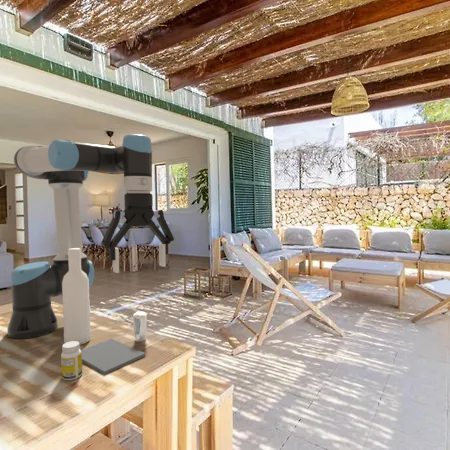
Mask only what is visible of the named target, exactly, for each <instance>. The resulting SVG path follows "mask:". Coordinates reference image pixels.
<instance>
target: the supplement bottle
mask: <svg viewBox="0 0 450 450" xmlns="http://www.w3.org/2000/svg"><path fill="white" fill-rule="evenodd" d="M80 346H81V345H79V342H77V341H71V342H67V343H63V344H62V347H61V350H62V352H61V354H60V360H61V363H60V364H61V378H62V379H63V380H64V381H73V380H76V379H78V378H80V377H81V376H82V375H83V362H82V353H81V350H82V349H81V348H80Z"/></svg>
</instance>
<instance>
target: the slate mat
mask: <svg viewBox="0 0 450 450" xmlns="http://www.w3.org/2000/svg"><path fill="white" fill-rule="evenodd" d="M80 350H81V353H82V363H84V364H86V365H87V366H89V367H91V368H92V369H95V370H96V371H98V372H99V373H101V374H103V375H106V374H108V373H111V372H113V371H115V370H117V369H119V368H122V367H124V366H126V365H128V364H130V363H133V362H135V361H137V360H140V359H141V358H144V357H146V353H145V352H143V351H141V350H139V349H136V348H133V347H131V346H129V345H127V344H125V343H122V342H120V341H118V340H115V339H113V338H110V339H107V340H104V341H102V342H99V343H96V344H93V345H91V346H88V347H85V348H83V349H80Z"/></svg>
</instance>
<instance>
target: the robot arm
mask: <svg viewBox="0 0 450 450" xmlns="http://www.w3.org/2000/svg"><path fill="white" fill-rule="evenodd" d="M13 164H14V166H15V168H16V169H17V171H18V172H20V173H21V174H22V175H25V176H27V177H29V178H32V179H37V180H47V181H48V186H49V187H50V188H51V189H52V190H53V202H54V203H53V204H54V218H55V234H56V235H55V236H56V239H55V240H56V251H57V252H56V253H57V254H56V256H54V257H53V259H52V262H53V264H50V262H49V261H43V260H42V261H36V262H35V261H34V262H30V263H25V264H21V265H20V266H17V267H15V268H14V269H13V270H12V271H11V275H10V285H11V286H10V287H11V304H12V313H11V316H10V319H9V322H8V325H7V329H6V330H7V336H8V337H9V338H11V339H19V340H21V339H22V340H23V339H32V338H36V337H37V338H38V337H41V336H44V335H47V334H49V333H52V332H54V331H55V330H57V329H58V326H59V325H58V319H57V316H56V313H55V312H54V309H53V306H52V298H54V297H60V296H63V295H62V281H63V278H64V276H65V274H66V273H67V272H68V271H69V261H68V249H71V248H80V249H81V270H82V271H83V272H84V273H86V275H87V277H88V279H89V288H91V286H92V284H93V282H94V279H95V267H94V264H93V262H92V261H91V260H90V259H88V256H87V254H85V253H84V252H83V240H82V239H83V238H82V222H81V209H80V207H81V206H80V204H81V203H80V188H81V187H83V186H84V182H85V181H86V180H87V179H88V174H89V172H91V173H92V172H94V173H95V172H96V173H106V174H108V175H109V174H110V175H119V174H123V191H125V192H126V193H124V196H123V197H124V211H120V210H113V212H112V219H111V221H110V223H109V226H107V227H108V228H107V229H106V231H105V234H104V237H103V238H102V240H101V246H103V247H106V248H108V259H109V261H112V272H113V273H115V274H119V273H120V258H119V257H120V253H119V252H120V251H119V248H118V245H119V243H120V242H121V240H122V239H123V238H124V236H125V235H127V233H128V232H129V230H130V229H131V228H132V227H135V228H137V227H138V228H139V227H148V228H149V229H150V231H152V233H153V234H154V236H156V238H157V239H158V240H159V241H160V242H161V243H158V265H159V266H160V267H163V268H164V267H167V263H166V261H167V260H166V257H167V256H166V255H168V254H169V244H170V243H171V242H173V241H174V240H175V238H174V236H173V234H172V231H171V230H170V229H171V228H170V227H169V225H168V223H167V221H166V219H165V216H164V215H165V213H164V210H163V209H156V210H154V209H153V206H154V203H153V198H154V197H153V194H152V193H151V192H153V150H152V140H151V138H150V137H149V136H148V135H145V134H136V133H134V134H133V133H132V134H131V133H130V134H125V135H124V136H123V138H122V145H121V146H110V145H102V144H96V143H87V142H80V141H75V140H74V141H72V140H69V139H54V140H52V141H51V143H50V144H49V145H46V146H42V145H25V146H22V147H21V148H19V149H17V150H16V151H15V153H14V156H13ZM123 217H124V219H125V221H124V222H123V224H122V226H121V228H120V229H119V230H118V231H117V233H116V234H115V232H116V230H117V228H118V226H119V223H120V220H121V219H122V218H123ZM154 217H155V218H156V220H157V222H158V225H159V226H160V228H161V230H162V231H161V230H160V229H159V227H158V226H157V225H156V223H155V222H154V221H153V218H154ZM114 234H115V235H114Z"/></svg>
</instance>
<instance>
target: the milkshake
mask: <svg viewBox="0 0 450 450" xmlns="http://www.w3.org/2000/svg"><path fill="white" fill-rule="evenodd" d="M149 311H150V309H148V310H147V312H145V311H137V312H134V313H133V314H132V320H133V329H134V330H133V331H134V332H133V333H134V338H135V339H134V340H135V342H137V343H138V342H139V343H141V342H144V341H146V340H147V324H148V323H147V322H148V314H149Z"/></svg>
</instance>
